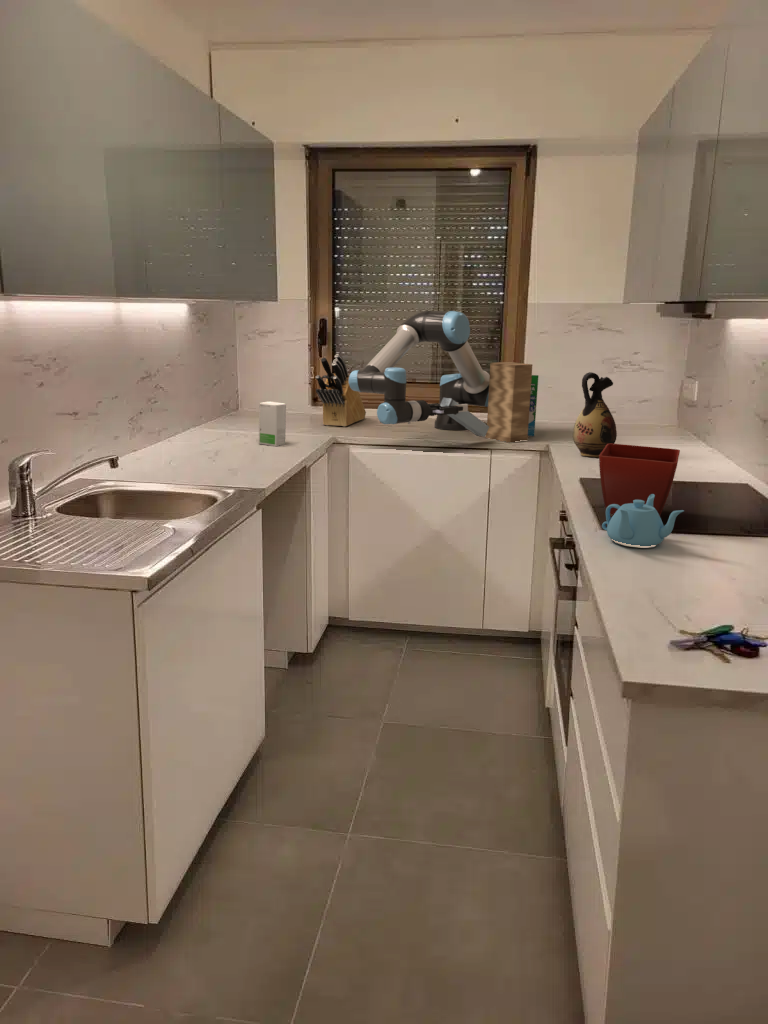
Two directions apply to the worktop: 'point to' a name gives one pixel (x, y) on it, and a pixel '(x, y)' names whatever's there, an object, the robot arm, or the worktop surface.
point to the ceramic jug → (594, 419)
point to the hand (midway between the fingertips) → (462, 406)
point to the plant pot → (636, 474)
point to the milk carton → (533, 405)
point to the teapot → (638, 523)
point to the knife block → (339, 395)
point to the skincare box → (272, 423)
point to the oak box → (509, 401)
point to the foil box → (467, 419)
